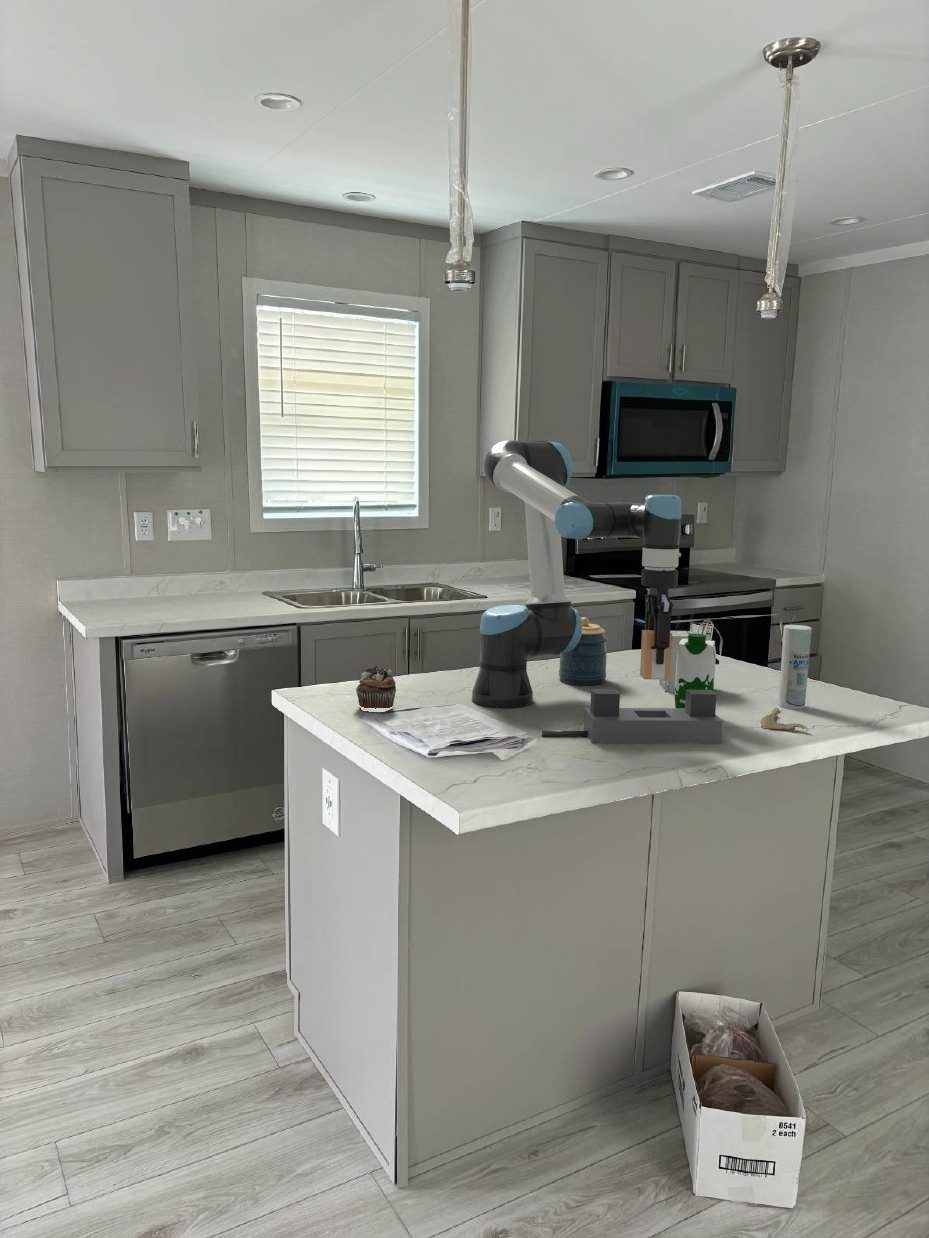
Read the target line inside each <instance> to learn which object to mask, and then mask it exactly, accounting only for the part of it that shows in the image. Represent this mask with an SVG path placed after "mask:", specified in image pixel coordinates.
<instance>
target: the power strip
mask: <svg viewBox="0 0 929 1238" xmlns="http://www.w3.org/2000/svg"><path fill="white" fill-rule="evenodd" d="M717 695H718V694H716V692H713V691H712V690H686V699H685V708H675V707H620V705H621V703H620V701H621V693H620V692H619V691H618V689H616V688H615V689H614V688H613V689H611V688H610V689H609V688H607V689H606V688H602V689H601V688H599V689H598V688H592V689H590V707H584V710H583V711H584V713H583V730H552V729H551V730H545V729H543V730H541V737H587V738H588V739H589V740H590V742H591V743H592V744H722V743H723V726H724V720H723V719H722V718H720V717H719V716H718V715H717V714H716V710H717Z"/></svg>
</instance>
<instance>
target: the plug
mask: <svg viewBox="0 0 929 1238" xmlns="http://www.w3.org/2000/svg"><path fill="white" fill-rule="evenodd" d="M669 644H670V646H669V648H667V649H666V656H665V675H664V679H670V666H671V648H672V633H671V632H670V643H669ZM651 646H654V630H645V629H642V630H641V647H640V666H639V667H640V668H639V675H640V677H641V678H643V680H652V679H651V666H652V649H651Z"/></svg>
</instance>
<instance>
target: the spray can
mask: <svg viewBox="0 0 929 1238" xmlns="http://www.w3.org/2000/svg"><path fill="white" fill-rule="evenodd" d="M812 630H813V629H812V627H810V626H808V625H801V624H800V625H798V624H785V625H784V626H783V635H782V649H781V662H780V663H781V665H780V676H779V678H780V679H779V690H778V691H779V692H778V693H779V694H778V706H779V707H780V708H784V709H788V710H803V709H805V706H806V697H807V687H808V675H809V664H810V654H811V653H810V652H811V643H812V642H811V641H812Z"/></svg>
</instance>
